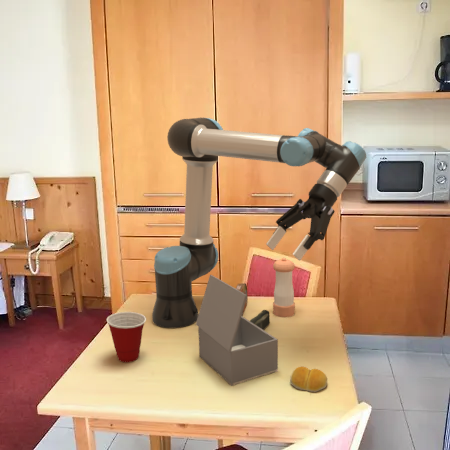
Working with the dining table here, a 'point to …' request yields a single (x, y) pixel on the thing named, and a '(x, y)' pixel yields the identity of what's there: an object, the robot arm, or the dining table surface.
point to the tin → (243, 289)
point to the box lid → (221, 311)
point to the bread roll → (308, 379)
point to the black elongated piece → (261, 319)
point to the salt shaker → (283, 289)
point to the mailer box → (241, 353)
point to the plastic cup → (126, 334)
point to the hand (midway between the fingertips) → (282, 252)
